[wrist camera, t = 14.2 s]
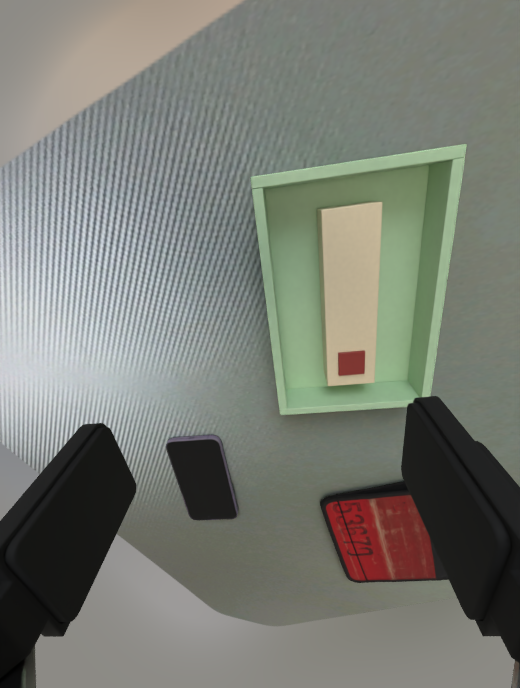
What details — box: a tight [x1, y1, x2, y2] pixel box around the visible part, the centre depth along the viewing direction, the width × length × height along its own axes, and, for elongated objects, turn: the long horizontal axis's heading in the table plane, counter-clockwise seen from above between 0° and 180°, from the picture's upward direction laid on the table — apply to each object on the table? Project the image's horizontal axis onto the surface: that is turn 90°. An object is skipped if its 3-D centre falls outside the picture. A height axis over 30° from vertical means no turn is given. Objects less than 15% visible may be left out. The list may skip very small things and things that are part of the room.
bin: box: [250, 144, 467, 415], centre depth 27 cm, size 22×15×4 cm
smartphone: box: [166, 435, 238, 520], centre depth 41 cm, size 7×1×15 cm
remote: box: [317, 201, 382, 386], centre depth 27 cm, size 16×4×3 cm, turn 7°
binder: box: [320, 481, 449, 583], centre depth 43 cm, size 16×2×21 cm
